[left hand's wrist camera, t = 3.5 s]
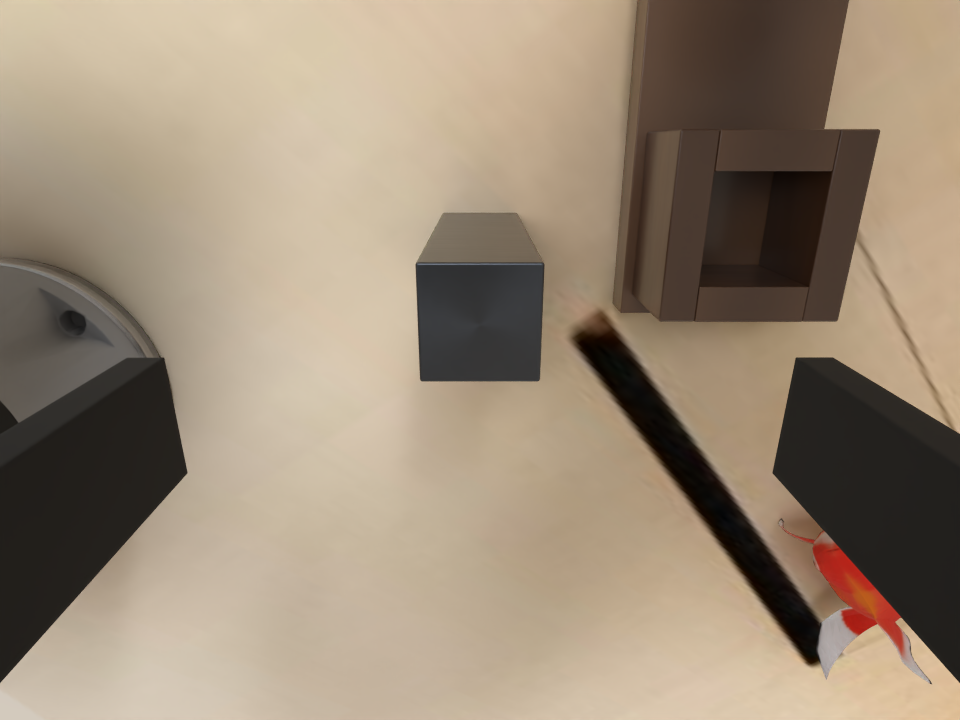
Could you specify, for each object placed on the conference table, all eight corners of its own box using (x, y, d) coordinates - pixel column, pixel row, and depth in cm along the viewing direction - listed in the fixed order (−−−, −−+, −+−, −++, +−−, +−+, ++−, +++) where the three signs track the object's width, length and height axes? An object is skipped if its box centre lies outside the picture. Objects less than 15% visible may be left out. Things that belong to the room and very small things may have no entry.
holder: (612, 303, 33) (681, 386, 21) (663, -314, 24) (829, -729, 12) (771, 303, 33) (923, 386, 21) (883, -314, 24) (1248, -729, 12)
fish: (983, 442, 30) (1089, 650, 24) (962, 546, 41) (1033, 710, 35) (762, 474, 35) (805, 655, 29) (794, 560, 45) (830, 708, 39)
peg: (444, 286, 32) (419, 382, 19) (442, 212, 31) (415, 262, 18) (515, 286, 32) (539, 382, 19) (517, 212, 31) (544, 262, 18)
